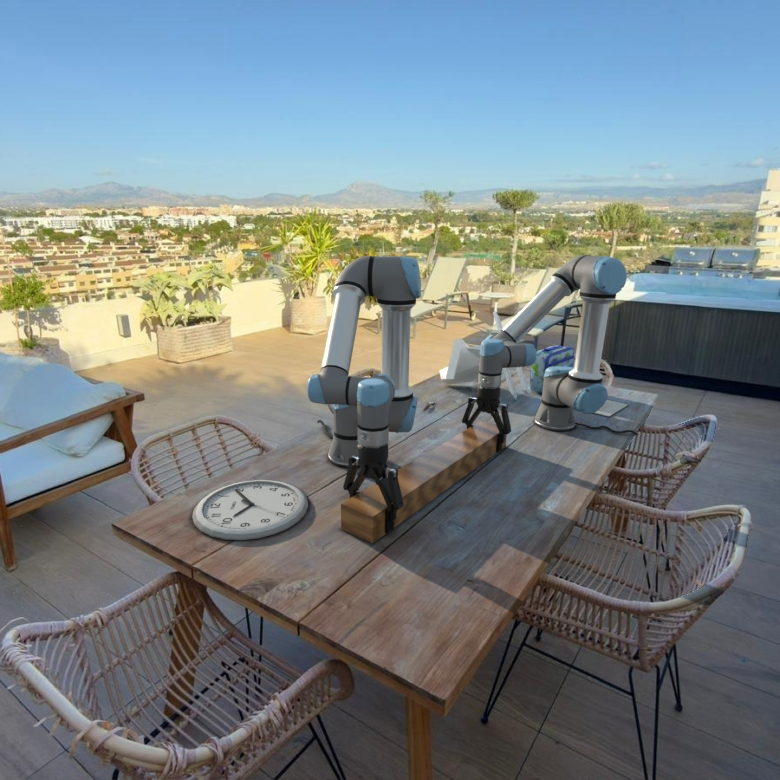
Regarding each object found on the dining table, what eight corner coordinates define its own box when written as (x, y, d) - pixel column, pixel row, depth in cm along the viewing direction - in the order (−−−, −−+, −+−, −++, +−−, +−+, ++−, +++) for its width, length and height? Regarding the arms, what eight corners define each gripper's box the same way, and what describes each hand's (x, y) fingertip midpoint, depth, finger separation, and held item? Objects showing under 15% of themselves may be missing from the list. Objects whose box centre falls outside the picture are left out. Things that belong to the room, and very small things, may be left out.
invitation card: (608, 416, 214) (573, 407, 224) (608, 416, 214) (573, 408, 224) (628, 404, 229) (594, 396, 238) (628, 405, 229) (594, 397, 238)
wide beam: (479, 439, 189) (481, 420, 187) (505, 446, 183) (507, 427, 181) (341, 529, 132) (340, 503, 129) (372, 543, 126) (372, 516, 124)
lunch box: (546, 398, 236) (551, 353, 229) (525, 393, 243) (529, 349, 237) (573, 387, 253) (579, 344, 247) (553, 382, 260) (558, 341, 254)
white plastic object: (461, 429, 252) (437, 405, 227) (444, 352, 274) (420, 323, 250) (535, 404, 240) (518, 377, 215) (510, 326, 262) (492, 293, 237)
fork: (420, 411, 216) (420, 406, 216) (430, 400, 230) (431, 395, 230) (426, 412, 215) (426, 407, 215) (436, 401, 230) (436, 396, 229)
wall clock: (304, 532, 127) (176, 536, 124) (304, 538, 127) (177, 542, 125) (311, 475, 155) (207, 478, 153) (311, 480, 156) (208, 483, 153)
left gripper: (327, 436, 130) (329, 514, 137) (401, 460, 117) (399, 546, 124) (347, 427, 136) (348, 503, 143) (420, 449, 123) (417, 532, 130)
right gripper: (453, 382, 178) (450, 442, 185) (516, 395, 165) (510, 459, 172) (464, 377, 184) (460, 435, 190) (525, 389, 171) (519, 452, 177)
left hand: (372, 523), depth 133 cm, fingers closed on wide beam, 10 cm apart
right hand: (484, 447), depth 181 cm, fingers closed on wide beam, 10 cm apart
